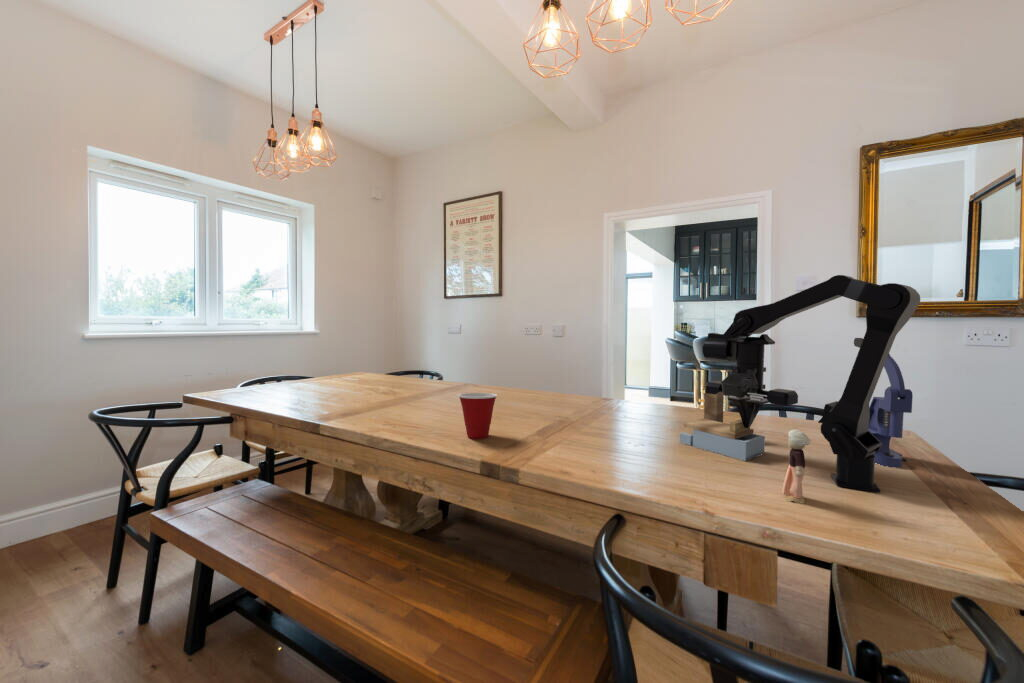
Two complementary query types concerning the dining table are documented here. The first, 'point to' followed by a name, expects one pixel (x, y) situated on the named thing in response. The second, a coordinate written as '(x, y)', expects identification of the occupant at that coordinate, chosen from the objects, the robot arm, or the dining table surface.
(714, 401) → the brown wooden block
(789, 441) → the grandmother figurine
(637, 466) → the dining table surface
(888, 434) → the hand press
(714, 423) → the lid
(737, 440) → the grey storage box
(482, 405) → the plastic cup
